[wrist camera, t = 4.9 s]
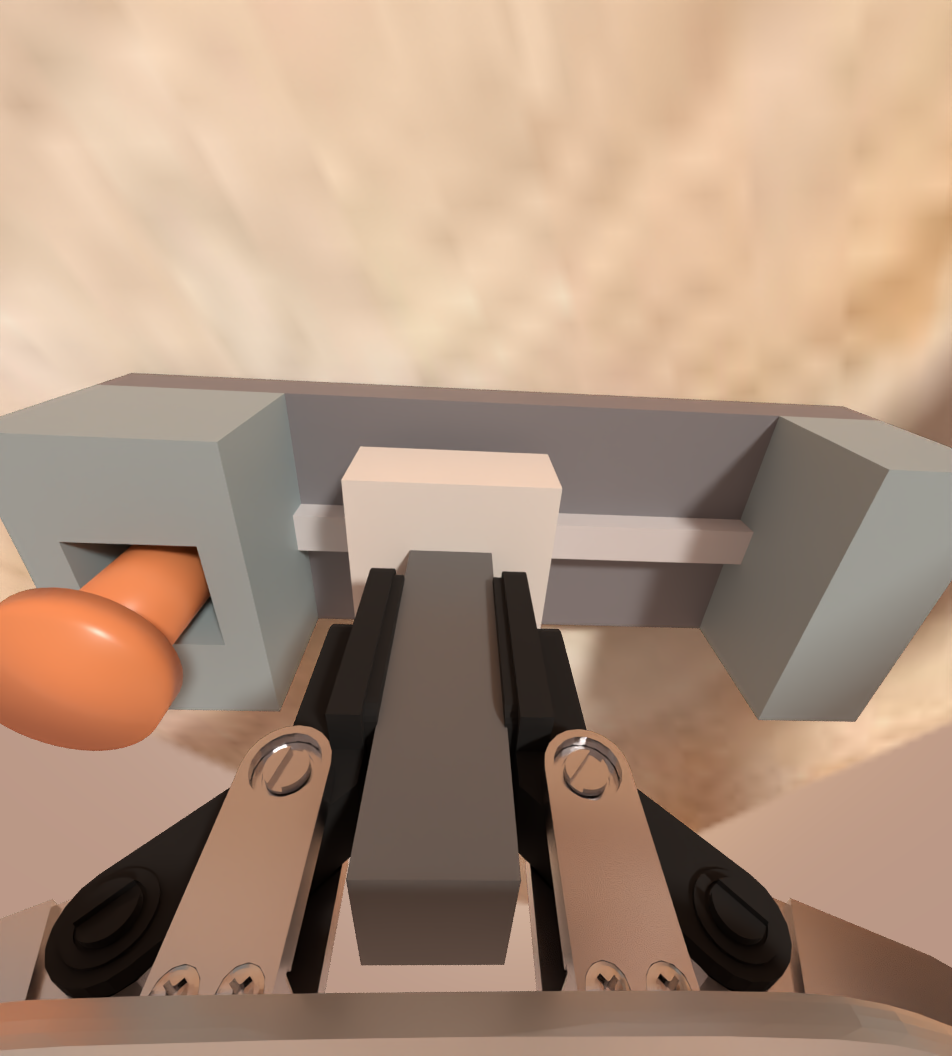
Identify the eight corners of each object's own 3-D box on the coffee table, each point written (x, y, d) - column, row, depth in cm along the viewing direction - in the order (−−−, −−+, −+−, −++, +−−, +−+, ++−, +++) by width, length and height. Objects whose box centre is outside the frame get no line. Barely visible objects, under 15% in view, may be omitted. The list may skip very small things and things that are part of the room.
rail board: (843, 406, 15) (1023, 475, 10) (756, 604, 19) (855, 721, 14) (131, 373, 14) (-45, 431, 9) (196, 588, 18) (98, 708, 13)
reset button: (247, 493, 12) (128, 618, 8) (270, 600, 14) (182, 752, 10) (106, 487, 12) (-95, 612, 8) (147, 597, 14) (3, 749, 10)
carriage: (547, 454, 13) (691, 789, 5) (524, 624, 16) (587, 1008, 8) (360, 446, 12) (168, 783, 4) (373, 620, 15) (272, 1011, 7)
